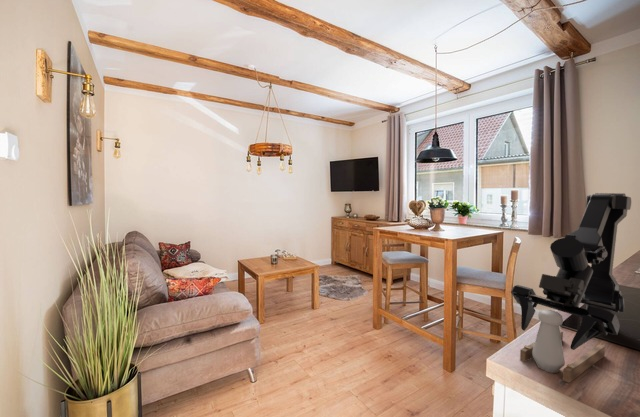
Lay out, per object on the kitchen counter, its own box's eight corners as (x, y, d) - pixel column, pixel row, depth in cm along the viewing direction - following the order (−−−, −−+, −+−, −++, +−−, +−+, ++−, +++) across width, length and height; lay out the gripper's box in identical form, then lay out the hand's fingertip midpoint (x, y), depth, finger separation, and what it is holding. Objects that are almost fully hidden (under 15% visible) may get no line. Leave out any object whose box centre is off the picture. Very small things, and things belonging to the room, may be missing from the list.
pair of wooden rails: (558, 338, 76) (558, 328, 76) (604, 356, 68) (605, 345, 68) (520, 359, 67) (520, 348, 66) (568, 382, 59) (569, 370, 58)
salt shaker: (570, 377, 60) (574, 319, 59) (540, 373, 61) (543, 316, 61) (553, 361, 66) (557, 307, 65) (526, 358, 67) (529, 305, 66)
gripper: (516, 253, 72) (489, 303, 67) (618, 272, 56) (592, 340, 51) (530, 278, 76) (506, 327, 72) (629, 303, 60) (606, 368, 55)
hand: (545, 338), depth 62 cm, fingers open, 9 cm apart
